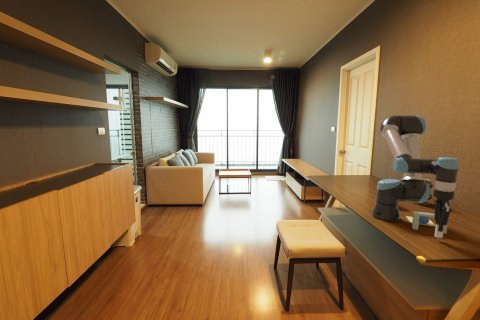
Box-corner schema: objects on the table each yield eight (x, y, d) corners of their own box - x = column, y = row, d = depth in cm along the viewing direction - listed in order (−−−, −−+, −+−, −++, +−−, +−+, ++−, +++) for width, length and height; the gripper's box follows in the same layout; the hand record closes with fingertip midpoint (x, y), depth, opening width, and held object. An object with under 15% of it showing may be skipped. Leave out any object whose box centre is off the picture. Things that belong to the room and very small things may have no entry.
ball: (417, 211, 141) (415, 218, 144) (419, 218, 137) (417, 225, 140) (428, 213, 139) (426, 220, 142) (431, 219, 135) (429, 226, 138)
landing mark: (411, 223, 140) (411, 223, 140) (405, 216, 152) (405, 216, 152) (436, 226, 136) (436, 226, 136) (428, 219, 147) (428, 218, 147)
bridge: (446, 233, 127) (448, 216, 126) (413, 229, 132) (415, 213, 131) (444, 231, 130) (446, 214, 129) (411, 227, 135) (413, 211, 134)
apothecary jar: (428, 202, 182) (431, 178, 180) (433, 206, 171) (436, 181, 169) (409, 200, 187) (411, 177, 185) (412, 204, 176) (415, 180, 174)
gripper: (460, 194, 108) (454, 244, 111) (448, 187, 120) (442, 232, 123) (440, 192, 111) (434, 241, 114) (429, 186, 123) (424, 230, 126)
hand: (438, 236), depth 119 cm, fingers closed
